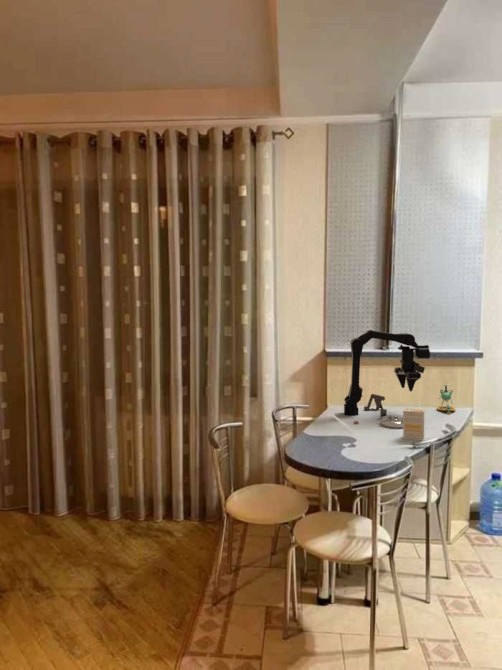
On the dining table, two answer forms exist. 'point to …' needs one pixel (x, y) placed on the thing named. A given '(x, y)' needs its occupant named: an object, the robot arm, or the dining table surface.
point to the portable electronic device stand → (377, 402)
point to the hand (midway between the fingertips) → (406, 389)
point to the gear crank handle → (390, 420)
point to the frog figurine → (446, 397)
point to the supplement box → (413, 424)
